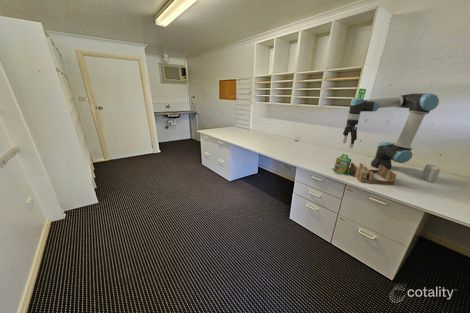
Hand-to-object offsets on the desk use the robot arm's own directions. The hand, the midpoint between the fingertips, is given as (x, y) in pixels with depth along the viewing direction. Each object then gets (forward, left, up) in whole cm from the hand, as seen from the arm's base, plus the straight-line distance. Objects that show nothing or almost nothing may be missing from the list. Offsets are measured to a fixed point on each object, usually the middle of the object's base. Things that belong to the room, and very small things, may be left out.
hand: (347, 145), depth 150 cm
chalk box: (0, 0, -23) cm, 23 cm away
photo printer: (+3, +63, -24) cm, 67 cm away
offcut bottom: (+10, +12, -24) cm, 28 cm away
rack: (+7, +19, -24) cm, 31 cm away
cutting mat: (0, 0, -24) cm, 24 cm away
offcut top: (+10, +12, -20) cm, 26 cm away
